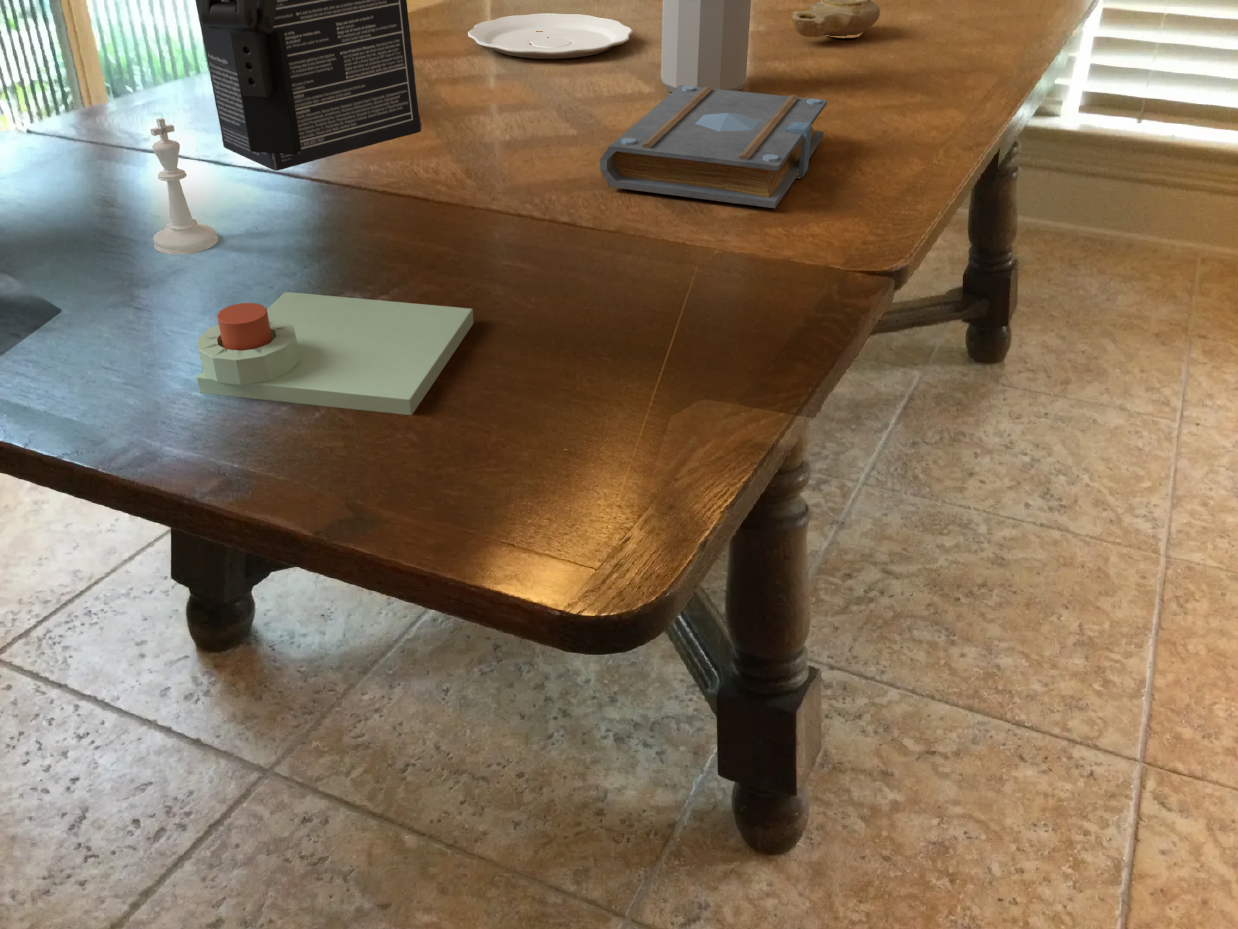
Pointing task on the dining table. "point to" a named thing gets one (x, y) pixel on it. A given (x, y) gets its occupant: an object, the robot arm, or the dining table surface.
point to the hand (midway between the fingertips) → (319, 119)
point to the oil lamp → (836, 18)
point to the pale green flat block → (339, 353)
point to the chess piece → (177, 202)
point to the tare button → (244, 326)
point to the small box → (328, 78)
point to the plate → (550, 35)
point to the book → (717, 146)
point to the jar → (705, 43)
